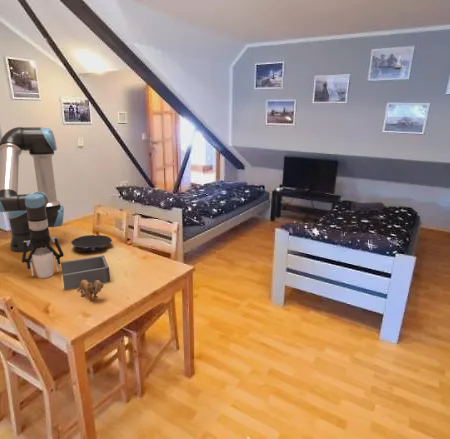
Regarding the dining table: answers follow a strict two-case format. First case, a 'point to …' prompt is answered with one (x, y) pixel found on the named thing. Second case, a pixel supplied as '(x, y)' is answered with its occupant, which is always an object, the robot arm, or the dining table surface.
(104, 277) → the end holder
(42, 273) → the cup
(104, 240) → the board
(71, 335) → the dining table surface
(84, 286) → the lion figurine
